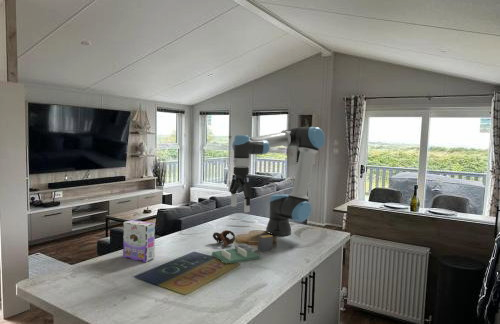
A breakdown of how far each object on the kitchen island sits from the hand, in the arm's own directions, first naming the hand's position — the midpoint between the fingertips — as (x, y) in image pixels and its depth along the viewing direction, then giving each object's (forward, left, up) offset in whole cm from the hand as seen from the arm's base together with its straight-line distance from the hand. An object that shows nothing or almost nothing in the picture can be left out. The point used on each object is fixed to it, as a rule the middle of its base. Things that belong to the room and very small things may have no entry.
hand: (240, 209), depth 167 cm
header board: (+6, +7, -21) cm, 23 cm away
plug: (-12, +5, -21) cm, 25 cm away
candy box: (+47, -10, -21) cm, 52 cm away
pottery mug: (+2, -12, -21) cm, 24 cm away
